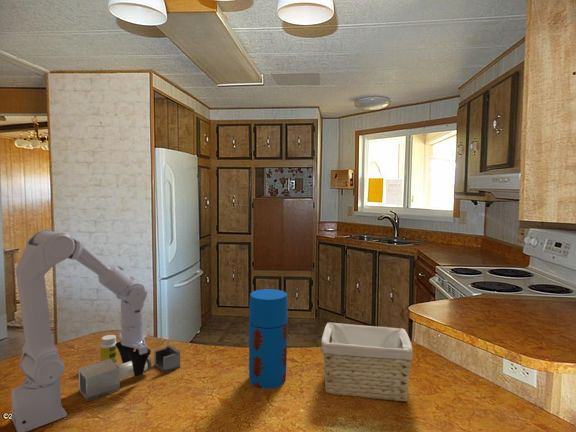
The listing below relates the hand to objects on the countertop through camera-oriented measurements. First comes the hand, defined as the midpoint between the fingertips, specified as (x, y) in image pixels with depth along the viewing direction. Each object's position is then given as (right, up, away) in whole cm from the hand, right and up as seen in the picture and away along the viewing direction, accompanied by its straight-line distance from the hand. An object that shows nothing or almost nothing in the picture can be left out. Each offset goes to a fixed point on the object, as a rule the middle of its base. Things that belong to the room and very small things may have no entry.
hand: (133, 370), depth 105 cm
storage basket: (+66, -4, -1) cm, 66 cm away
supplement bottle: (-11, -2, +9) cm, 14 cm away
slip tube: (-3, -1, -2) cm, 4 cm away
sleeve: (-6, -3, -6) cm, 9 cm away
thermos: (+38, -3, +1) cm, 39 cm away
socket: (+7, -2, +8) cm, 11 cm away
